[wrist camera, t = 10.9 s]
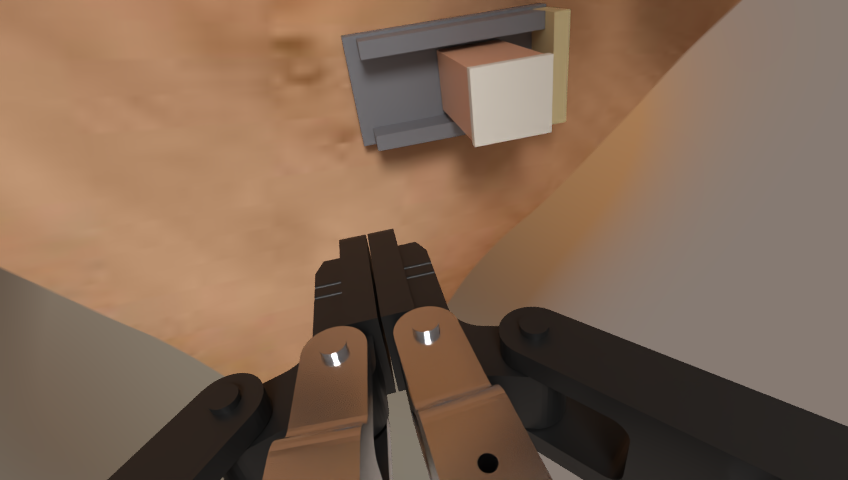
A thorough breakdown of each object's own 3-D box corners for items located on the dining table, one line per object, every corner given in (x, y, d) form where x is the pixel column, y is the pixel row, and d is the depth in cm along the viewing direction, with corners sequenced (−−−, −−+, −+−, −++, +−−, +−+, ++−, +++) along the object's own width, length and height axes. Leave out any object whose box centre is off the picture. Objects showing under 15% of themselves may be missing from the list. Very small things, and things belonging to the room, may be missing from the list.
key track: (363, 140, 38) (368, 162, 33) (341, 35, 33) (343, 43, 29) (537, 107, 39) (565, 124, 35) (538, 3, 35) (571, 5, 30)
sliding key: (441, 110, 36) (475, 147, 28) (435, 48, 33) (469, 68, 25) (501, 99, 36) (551, 132, 28) (499, 37, 34) (553, 54, 26)
